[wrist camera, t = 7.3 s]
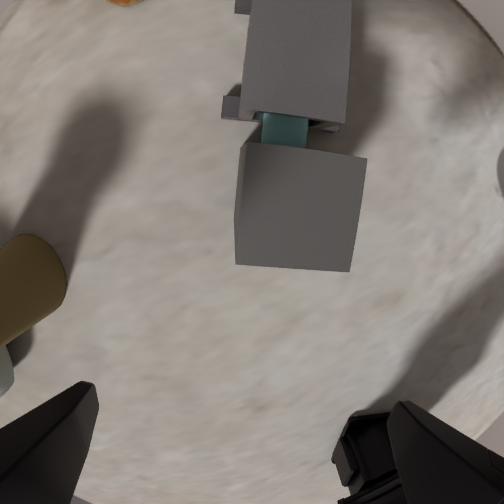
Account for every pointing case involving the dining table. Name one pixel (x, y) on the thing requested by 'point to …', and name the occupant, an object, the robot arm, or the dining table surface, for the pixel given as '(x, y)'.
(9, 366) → the air freshener
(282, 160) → the tube
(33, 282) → the cork
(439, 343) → the dining table surface
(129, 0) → the pastry
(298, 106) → the sleeve
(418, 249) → the dining table surface
